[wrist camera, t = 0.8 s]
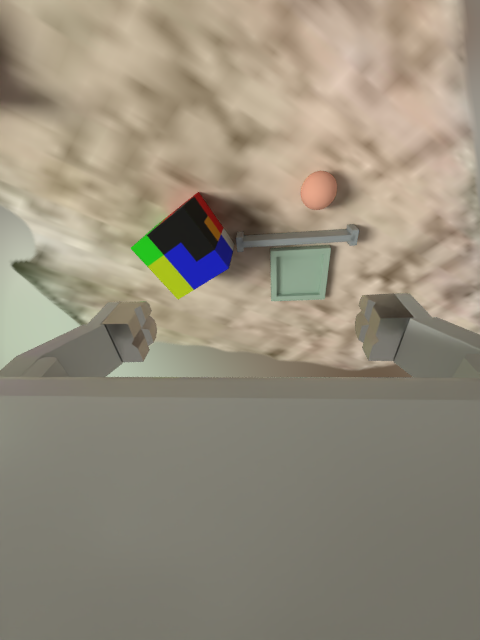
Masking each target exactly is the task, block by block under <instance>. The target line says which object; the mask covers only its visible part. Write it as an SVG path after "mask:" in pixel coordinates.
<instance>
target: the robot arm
mask: <svg viewBox="0 0 480 640" xmlns="http://www.w3.org/2000/svg"><path fill="white" fill-rule="evenodd" d="M359 307H360V309H361V312H360V313H359V314H358V315H357V316H356V321H355V331H356V335H357V338H358V340H360V341H361V342H363V347H362V348H363V350H364V352H365V355H366V357H367V359H368V361H394V363H396V364H397V365H398V366H400V367H401V368H402V369H403V370H405V371H406V372H407V373H409V374H410V375H411V376H413V377H414V378H362V377H358V378H356V377H355V378H351V377H349V378H348V377H337V378H336V377H328V378H326V377H323V378H322V377H320V378H319V377H310V378H308V377H304V378H303V377H299V378H298V377H290V378H289V377H281V378H280V377H276V378H275V377H106V376H107V375H108V374H110V373H111V372H112V371H113V370H115V369H116V368H117V367H118V366H120V365H121V364H122V362H143V361H144V359H145V357H146V356H147V354H148V352H149V347H148V346H149V345H150V344H152V343H153V342H154V340H155V338H156V334H157V327H156V323H155V320H154V319H153V318H152V317H151V316H150V313H151V311H152V310H151V308H150V305H149V303H147V302H146V301H143V302H109V303H107V304H106V305H105V306H104V307H103V308H102V309H101V310H100V311H99V312H98V313H97V315H96V316H95V317H94V318H93V319H92V320H91V321H90V322H89V323H88V324H87V325H82V326H80V327H77V328H75V329H73V330H71V331H69V332H67V333H65V334H63V335H60V336H58V337H56V338H54V339H52V340H50V341H48V342H46V343H44V344H42V345H39V346H37V347H35V348H33V349H31V350H29V351H27V352H24V353H22V354H20V355H18V356H16V357H15V358H14V359H13V360H12V361H10V362H9V363H8V364H7V365H6V366H5V367H4V368H3V369H1V370H0V640H480V335H479V334H477V333H474V332H472V331H469V330H467V329H464V328H462V327H459V326H457V325H455V324H452V323H450V322H447V321H445V320H442V319H440V318H437V317H436V318H432V317H431V316H430V315H429V314H428V312H427V311H426V310H425V309H424V308H423V307H422V306H421V305H420V304H419V303H418V302H417V301H416V300H415V299H414V298H413V297H412V296H411V295H410V294H408V293H396V294H377V295H363V296H362V297H361V299H360V302H359Z"/></svg>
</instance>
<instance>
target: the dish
mask: <svg viewBox="0 0 480 640" xmlns="http://www.w3.org/2000/svg"><path fill="white" fill-rule="evenodd" d="M330 252H331V247H330V245H317V246H300V247H282V248H270V260H271V301H291V300H319V299H325V292H326V284H327V276H328V268H329V260H330Z"/></svg>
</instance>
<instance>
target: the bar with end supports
mask: <svg viewBox="0 0 480 640" xmlns="http://www.w3.org/2000/svg"><path fill="white" fill-rule="evenodd" d="M358 234H359V229H358V228H357V227H356V226H355V225H354V224H349V225H347V229H339V230H323V231H308V232H292V233H276V234H261V235H245V236H244V234H243V232H237V236H236V242H237V252H243V251H244V248H245V247H262V246H279V245H296V244H313V243H330V242H347V243H348V244H349V245H350V246H352V245H357V240H358Z"/></svg>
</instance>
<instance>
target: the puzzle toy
mask: <svg viewBox="0 0 480 640" xmlns="http://www.w3.org/2000/svg"><path fill="white" fill-rule="evenodd" d="M234 245H235V244H234V242H233V241H232V240H231V238H230V237H229V235H228V234H227V232H226V231H225V229H224V228H223V227H222V225H221V224H220V222H219V221H218V219H217V218H216V216H215V215H214V214H213V212H212V211H211V209H210V208H209V206H208V205H207V203H206V202H205V201H204V199H203V198H202V196H201V195H200V193H199V192H198V193H196V194H195V195H194V196H193V197H191V198H190V199H189V200H188V201H186V202H185V203H184V204H183V205H181V206H180V207H179V208H178V209H176V210H175V211H174V212H173V213H171V214H170V215H169V216H168V217H166V218H165V219H164V220H163V221H161V222H160V223H159V224H158V225H156V226H155V227H154V228H153V229H152V230H151V231H149V232H148V233H147V234H146V235H145V236H144V237H143V238H141V239H140V240H139V241H138V242H137V243H136V244H135V245H134V246H132V247H131V249H132V250H133V251H134V253H135V254H136V255H137V256H138V257H139V258H140V259H141V260H142V261H143V262H144V263H145V264H146V266H147V267H148V268H149V269H150V270H151V271H152V272H153V273H154V274H155V275H156V276H157V277H158V278H159V280H160V281H161V282H162V283H163V284H164V285H165V286H166V287H167V288H168V289H169V290H170V291H171V292H172V294H173V295H174V296H175V297H176V298H177V299H180V298H181V297H183V296H185V295H186V294H188V293H190V292H191V291H193V290H194V289H196V288H198V287H199V286H201V285H203V284H204V283H206V282H207V281H209V280H211V279H212V278H214V277H216V276H217V275H219V274H220V273H222V272H224V271H225V270H227V269H229V266H230V261H231V257H232V253H233V249H234Z"/></svg>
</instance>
